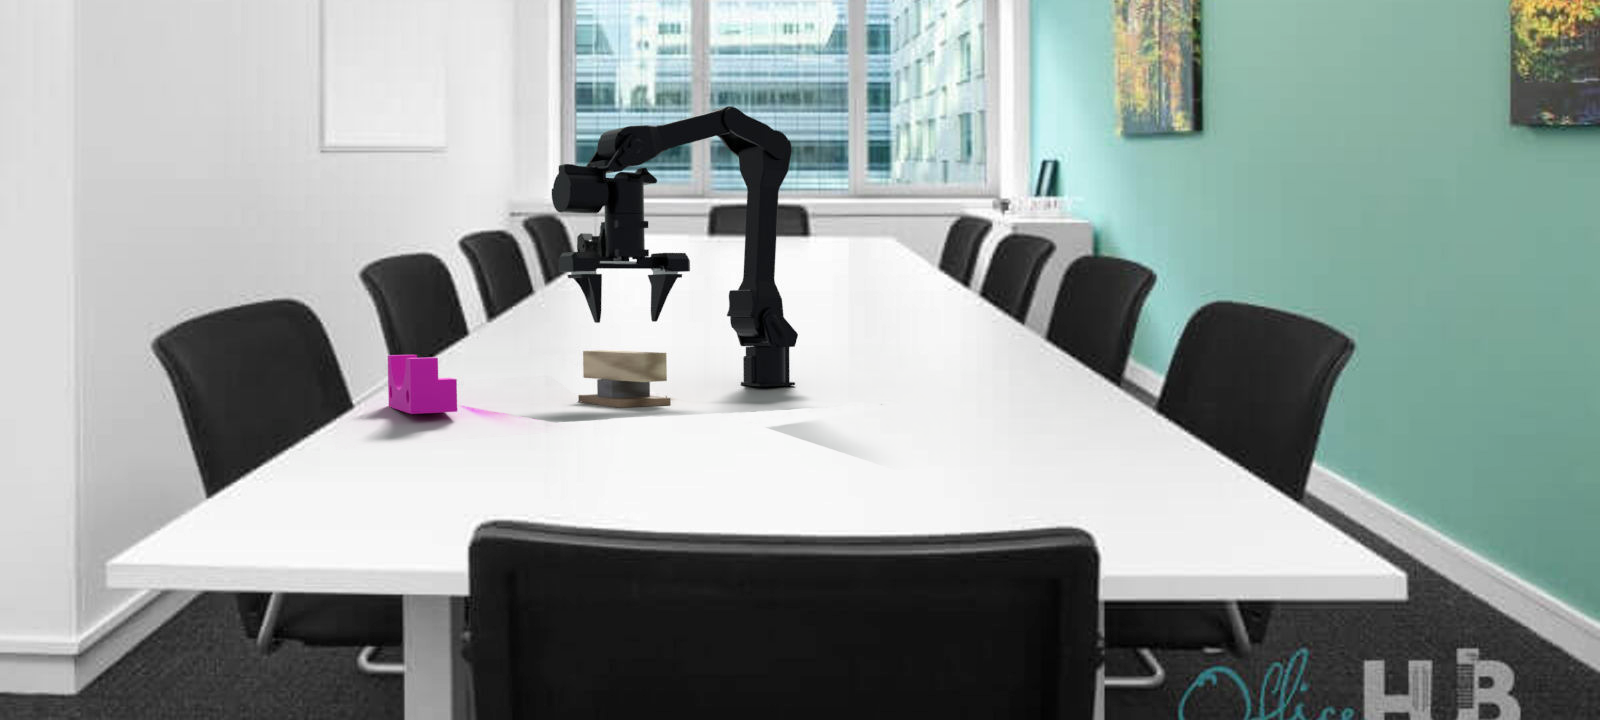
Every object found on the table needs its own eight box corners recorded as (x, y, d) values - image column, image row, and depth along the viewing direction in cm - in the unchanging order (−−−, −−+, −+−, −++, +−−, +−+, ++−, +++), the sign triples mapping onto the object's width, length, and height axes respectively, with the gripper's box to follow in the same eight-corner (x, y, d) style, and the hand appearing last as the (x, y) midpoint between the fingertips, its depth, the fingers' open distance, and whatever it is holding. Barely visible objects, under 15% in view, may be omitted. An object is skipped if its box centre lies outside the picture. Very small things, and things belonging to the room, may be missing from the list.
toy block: (457, 411, 186) (456, 357, 185) (411, 413, 183) (410, 358, 182) (432, 404, 199) (430, 354, 198) (388, 406, 196) (387, 355, 196)
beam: (606, 376, 203) (606, 350, 203) (666, 380, 191) (666, 352, 191) (583, 377, 201) (583, 350, 200) (643, 382, 188) (642, 353, 188)
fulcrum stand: (627, 399, 204) (627, 376, 204) (670, 404, 192) (670, 380, 192) (578, 401, 199) (578, 378, 199) (619, 407, 188) (619, 382, 188)
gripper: (656, 219, 207) (657, 320, 208) (542, 216, 197) (544, 322, 198) (691, 215, 198) (692, 321, 199) (573, 211, 188) (575, 323, 188)
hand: (626, 322), depth 196 cm, fingers open, 9 cm apart
